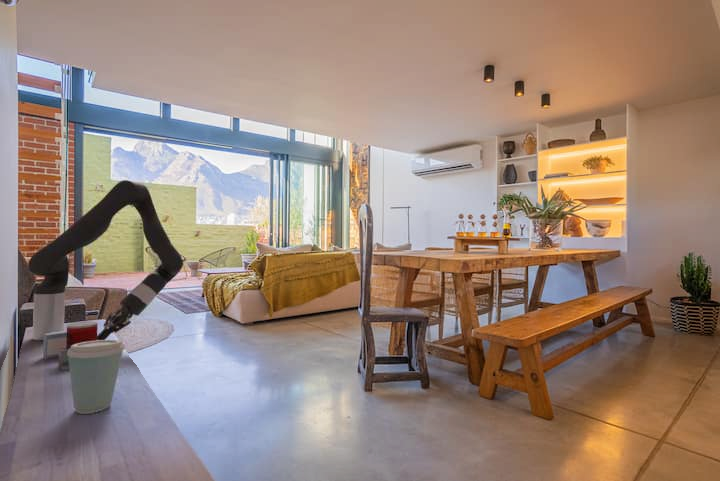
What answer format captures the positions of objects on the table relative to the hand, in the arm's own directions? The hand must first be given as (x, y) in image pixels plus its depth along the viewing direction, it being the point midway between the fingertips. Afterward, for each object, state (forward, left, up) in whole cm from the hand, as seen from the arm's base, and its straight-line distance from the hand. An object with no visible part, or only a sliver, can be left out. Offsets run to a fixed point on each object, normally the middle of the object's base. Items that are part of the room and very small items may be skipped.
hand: (98, 340), depth 123 cm
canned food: (0, -5, -5) cm, 7 cm away
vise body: (+7, -8, -5) cm, 12 cm away
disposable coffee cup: (+45, -15, -5) cm, 48 cm away
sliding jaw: (-11, -8, -5) cm, 15 cm away
